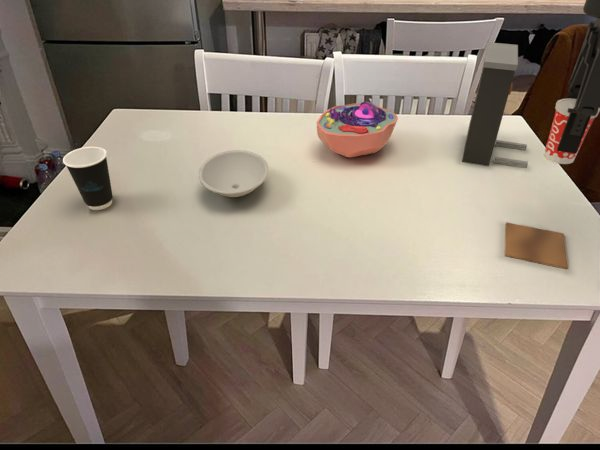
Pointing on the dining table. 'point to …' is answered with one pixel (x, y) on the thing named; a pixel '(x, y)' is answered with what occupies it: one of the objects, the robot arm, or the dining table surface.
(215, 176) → the dish
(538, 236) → the cork coaster
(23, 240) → the dining table surface
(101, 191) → the dixie cup
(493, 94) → the coffee machine
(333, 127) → the cell model
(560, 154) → the beverage cup
